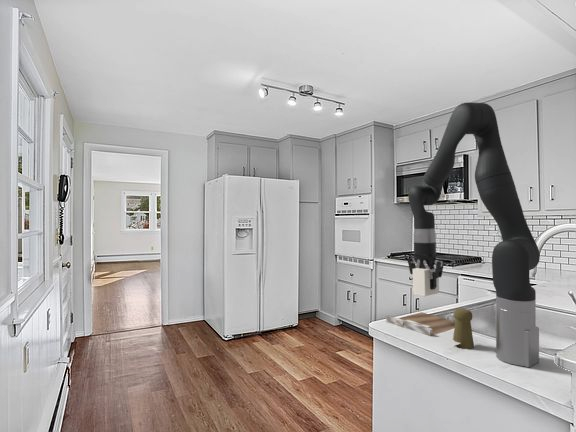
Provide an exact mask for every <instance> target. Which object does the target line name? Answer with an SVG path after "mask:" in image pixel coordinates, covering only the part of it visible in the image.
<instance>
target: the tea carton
mask: <svg viewBox="0 0 576 432" xmlns="http://www.w3.org/2000/svg"><path fill="white" fill-rule="evenodd" d="M435 269H436V267H435ZM430 270H433V269H430ZM432 274H433V272H432ZM439 278H440V277H439ZM439 278H437V279H436V288H435V289H433V290H432V289H430V273H429V270H426V269H422V268H415V269H413V274H412V295H418V296H422V297H423V296H424V297H427V296H431V295H436V294H439V293H440V279H439Z"/></svg>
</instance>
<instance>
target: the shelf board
mask: <svg viewBox="0 0 576 432" xmlns="http://www.w3.org/2000/svg"><path fill="white" fill-rule="evenodd" d="M385 319H386V320H385V322H386V323H389V324H392V325H395V326H398V327H401V328H405V329H407V330H410V331H414V332H417V333H419V334H422V335H426V336H428V337H432V336H434V335H438V334H441V333H444V332H447V331H450V330H453V329H454V328H455V321H456V320H451V319H448V318H445V317H441V316H437V315H434V314H430V313H427V312H423V311H422V312H418V313H414V314H410V315H407V316H402V317H398V318H397V317H395V316H392V315H386V318H385Z"/></svg>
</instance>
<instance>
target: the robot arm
mask: <svg viewBox="0 0 576 432" xmlns="http://www.w3.org/2000/svg"><path fill="white" fill-rule="evenodd" d="M466 135H473V136H474V139H475V142H476V145H477V149H478V157H477V162H476V165H475V169H474V170H475V172H474V181H475V185H476V188H477V192H478V195H479V198H480V199H481V202H482V204H483V205H484V207H485V208H486V210H487V211H488V213H489V214H490V215H491V217H492V218H493V220H494V221H495V223H496V224H497V227H498V230H499V232H500V235H501V239H502V241H500V242H497V244H496V245H495V246H494V248H493V250H492V255H491V268H492V270H491V273H492V284H493V286H494V289H495V305H496V306H495V342H496V343H495V345H496V347H495V350H496V351H495V353H496V358H497V359H499V360H500V361H502V362H505V363H507V364H510V365H516V366H522V367H527V368H530V367H532V366H535V365H536V364H538V363H539V362H540V328H539V326H536V323H537V321H536V318H537V316H536V314H537V312H536V311H537V309H536V307H537V306H536V297H537V295H536V292H537V291H536V290H535V288H534V287H533V286H532V284H531V281H530V280H531V279H530V278H531V277H530V271H531V270H533V269H535V268H536V267H537V266H538V264H539V263H540V260H541V259H540V258H541V256H540V255H541V254H540V253H541V252H540V250H539V247H538V244H537V243H536V240H535V238H534V236H533V233H532V232H531V229H530V227H529V224H528V222H527V220H526V218H525V214H524V211H523V208H522V204H521V201H520V198H519V194H518V192H517V187H516V184H515V180H514V178H513V174H512V172H511V169H510V166H509V164H508V161H507V158H506V154H505V151H504V147H503V144H502V141H501V136H500V135H501V134H500V130H499V124H498V120H497V116H496V113H495V110H494V108H493V107H492V106H491V105H489V104H488V103H484V102H468V101H467V102H462V103H460V104H458V105H457V106H456V107H455V109H454V110H453V112H452V113H451V115H450V117H449V120H448V123H447V125H446V128H445V131H444V133H443V136H442V139H441V141H440V144H439V147H438V148H437V151H436V154H435V155H434V157H433V159H432V161H431V163H430V164H429V165H428V167H427V170H426V171H425V173H424V175H423V182H424V183H425V184H426V185H415V186H412V187H411V188H410V190H409V192H408V195H407V196H408V202H409V206H410V210H411V212H412V213H411V214H412V216H413V254H414V257H409V258H407V264H408V269H409V273H410V275H413V269H415V268H422V269H426V270H429V273H430V289H432V290H433V289H435V288H436V279H437V278H442V276H443V270H444V267H445V262H444V260H438V259H437V258H436V255H437V237H436V224H435V222H436V220H435V213H433V212H431V211H427V210H426V208H425V206H432V205H435V204H436V203H438V201H439V200H440V198H441V194H442V192H443V191H442V190H443V188H444V183H445V182H446V181H447V179H448V178H449V176H450V175H451V173H452V171H453V168H454V166H455V163H456V150H457V147H458V145H459V144H460V142H461V141H462V139H463V138H464V137H465V136H466ZM435 268H436V269H435ZM430 269H433V270H430ZM432 272H433V274H432Z"/></svg>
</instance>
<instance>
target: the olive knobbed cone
mask: <svg viewBox="0 0 576 432" xmlns="http://www.w3.org/2000/svg"><path fill="white" fill-rule="evenodd" d="M453 318H454V319H455V320H454V321H455V328H454V331H453V336H452V337H453V338H452V340H453V341H454V342H456V343H458V344H456V345H454V347H456V348H459V349H464V350H470V349H471V350H472V349H474V348H475V343H474V336H473V330H472V323H471V322H472V320H473V312H472V311H471V310H470V309H466V308H456V309H455V310H454V311H453Z"/></svg>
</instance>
